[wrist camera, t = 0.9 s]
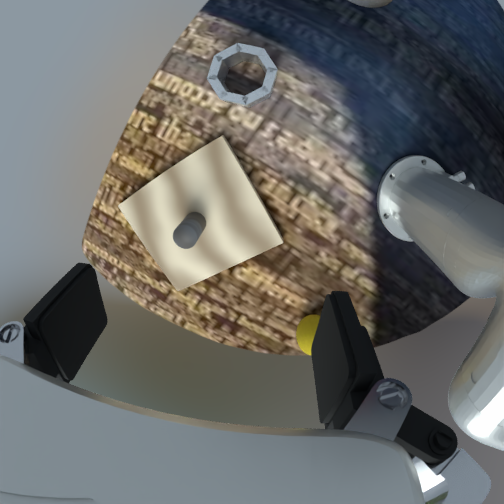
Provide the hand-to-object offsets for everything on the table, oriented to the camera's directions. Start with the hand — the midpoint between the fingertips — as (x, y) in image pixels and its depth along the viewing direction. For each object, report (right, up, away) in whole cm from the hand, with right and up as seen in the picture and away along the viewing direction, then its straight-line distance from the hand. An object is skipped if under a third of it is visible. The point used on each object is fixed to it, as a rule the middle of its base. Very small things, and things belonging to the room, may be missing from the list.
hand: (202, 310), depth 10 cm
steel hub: (+1, +23, +19) cm, 30 cm away
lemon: (+12, -9, +34) cm, 37 cm away
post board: (-6, +7, +27) cm, 29 cm away
